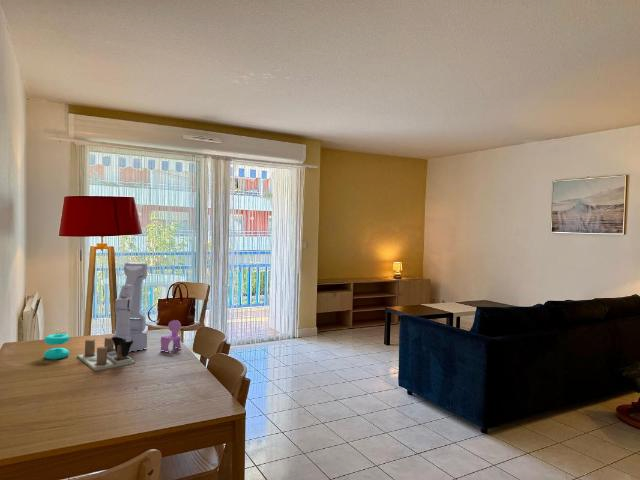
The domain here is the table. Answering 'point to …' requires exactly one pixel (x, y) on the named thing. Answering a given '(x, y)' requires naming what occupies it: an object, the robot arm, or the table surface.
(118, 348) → the walnut pin
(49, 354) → the donuts
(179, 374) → the table surface
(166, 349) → the toy chair
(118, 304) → the robot arm
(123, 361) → the pin board
